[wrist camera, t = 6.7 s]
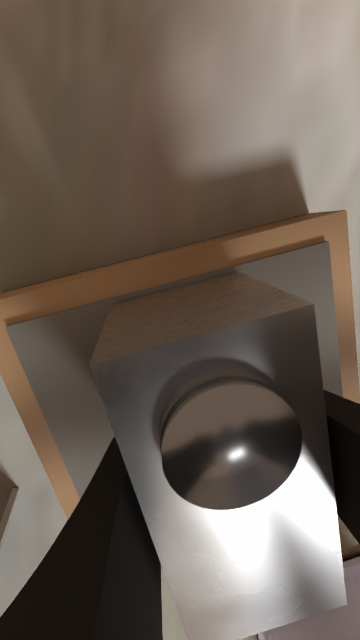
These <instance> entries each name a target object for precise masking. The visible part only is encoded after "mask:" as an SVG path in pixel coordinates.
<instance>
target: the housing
mask: <svg viewBox="0 0 360 640" xmlns="http://www.w3.org/2000/svg"><path fill="white" fill-rule="evenodd" d="M89 365H90V368H91V371H92V374H93V377H94V379H95V382H96V385H97V388H98V390H99V393H100V396H101V399H102V402H103V404H104V407H105V410H106V413H107V416H108V418H109V421H110V424H111V427H112V429H113V432H114V435H115V438H116V441H117V443H118V446H119V449H120V452H121V454H122V457H123V460H124V463H125V466H126V468H127V471H128V474H129V477H130V479H131V482H132V485H133V488H134V491H135V493H136V496H137V499H138V502H139V504H140V507H141V510H142V513H143V516H144V518H145V521H146V524H147V527H148V529H149V532H150V535H151V538H152V541H153V543H154V546H155V549H156V552H157V555H158V557H159V560H160V563H161V566H162V568H163V571H164V574H165V577H166V580H167V582H168V585H169V588H170V591H171V593H172V596H173V599H174V602H175V605H176V607H177V610H178V613H179V616H180V618H181V621H182V624H183V627H184V630H185V632H186V635H187V638H188V640H239V639H242V638H246V637H249V636H252V635H255V634H258V633H261V632H264V631H267V630H270V629H273V628H276V627H280V626H283V625H286V624H289V623H292V622H295V621H298V620H301V619H304V618H307V617H310V616H313V615H317V614H320V613H323V612H326V611H329V610H332V609H335V608H338V607H341V606H344V605H347V598H346V589H345V580H344V571H343V562H342V553H341V544H340V535H339V526H338V517H337V508H336V499H335V490H334V480H333V471H332V462H331V453H330V444H329V435H328V426H327V417H326V408H325V399H324V390H323V381H322V372H321V363H320V354H319V345H318V335H317V326H316V317H315V308H314V304H313V303H311V302H309V301H306V300H304V299H302V298H299V297H297V296H294V295H292V294H290V293H287V292H285V291H283V290H280V289H278V288H276V287H273V286H271V285H269V284H266V283H264V282H262V281H259V280H257V279H255V278H252V277H250V276H247V275H245V274H243V273H240V272H238V271H236V272H232V273H228V274H224V275H220V276H216V277H213V278H209V279H205V280H201V281H197V282H193V283H190V284H186V285H182V286H178V287H174V288H171V289H167V290H163V291H159V292H155V293H151V294H148V295H144V296H140V297H136V298H132V299H128V300H125V301H121V302H117V303H113V304H112V305H111V307H110V310H109V313H108V315H107V318H106V321H105V323H104V326H103V329H102V331H101V334H100V337H99V339H98V342H97V345H96V348H95V350H94V353H93V356H92V358H91V361H90V364H89Z"/></svg>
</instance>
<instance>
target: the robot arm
mask: <svg viewBox="0 0 360 640" xmlns="http://www.w3.org/2000/svg"><path fill="white" fill-rule="evenodd" d="M323 390H324V389H323ZM324 399H325V408H326V417H327V426H328V435H329V444H330V453H331V462H332V471H333V480H334V490H335V499H336V508H337V515H338V516H339V517H340V519H341V520H342V521H343V523H344V524H345V525H346V527H347V528H348V529H349V531H350V532H351V533H352V535H353V536H354V537H355V539H356V540H357V541H358V543H359V544H360V404H358V403H356V402H353V401H351V400H348V399H346V398H343V397H341V396H339V395H336V394H334V393H331V392H329V391H326V390H324ZM343 571H344V580H345V589H346V598H347V605H344V606H341V607H338V608H335V609H332V610H329V611H326V612H323V613H320V614H317V615H313V616H310V617H307V618H304V619H301V620H298V621H295V622H292V623H289V624H286V625H283V626H280V627H276V628H273V629H270V630H267V631H264V632H261V633H258V638H259V640H360V556H359V557H356V558H354V559H351V560H348V561H345V562H343ZM0 640H163V636H162V603H161V563H160V560H159V557H158V555H157V552H156V549H155V546H154V543H153V541H152V538H151V535H150V532H149V529H148V527H147V524H146V521H145V518H144V516H143V513H142V510H141V507H140V504H139V502H138V499H137V496H136V493H135V491H134V488H133V485H132V482H131V479H130V477H129V474H128V471H127V468H126V466H125V463H124V460H123V457H122V454H121V452H120V449H119V446H118V443H117V441H116V438H115V437H113V439H112V441H111V442H110V444H109V446H108V448H107V450H106V452H105V454H104V456H103V458H102V460H101V462H100V464H99V466H98V468H97V469H96V471H95V473H94V475H93V477H92V479H91V481H90V483H89V484H88V486H87V488H86V490H85V492H84V493H83V495H82V497H81V499H80V501H79V502H78V504H77V506H76V507H75V509H74V511H73V513H72V514H71V516H70V517H69V519H68V521H67V522H66V524H65V526H64V527H63V529H62V530H61V532H60V534H59V535H58V537H57V538H56V540H55V542H54V543H53V545H52V546H51V548H50V549H49V551H48V552H47V554H46V555H45V557H44V558H43V560H42V561H41V563H40V564H39V566H38V567H37V569H36V570H35V572H34V573H33V574H32V576H31V577H30V578H29V580H28V581H27V583H26V584H25V585H24V587H23V588H22V590H21V591H20V592H19V594H18V595H17V596H16V598H15V599H14V600H13V602H12V603H11V605H10V606H9V607H8V608H7V610H6V611H5V612H4V613H3V615H2V616H1V617H0Z"/></svg>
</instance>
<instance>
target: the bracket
mask: <svg viewBox="0 0 360 640" xmlns="http://www.w3.org/2000/svg"><path fill="white" fill-rule="evenodd" d="M18 489H19V488H12V491H11V494H10V497H9V499H8V502H7V505H6V508H5V511H4V513H3V516H2V519H1V522H0V554H1V551H2V547H3V543H4V540H5V536H6V532H7V529H8V525H9V521H10V518H11V514H12V511H13V507H14V503H15V500H16V496H17V492H18Z"/></svg>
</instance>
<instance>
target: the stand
mask: <svg viewBox="0 0 360 640" xmlns="http://www.w3.org/2000/svg"><path fill="white" fill-rule="evenodd" d="M236 271H238V272H240V273H243V274H245V275H247V276H250V277H252V278H255V279H257V280H259V281H262V282H264V283H266V284H269V285H271V286H273V287H276V288H278V289H280V290H283V291H285V292H287V293H290V294H292V295H294V296H297V297H299V298H302V299H304V300H306V301H309V302H311V303H313V304H314V308H315V317H316V326H317V335H318V345H319V354H320V363H321V372H322V381H323V389H324V390H326V391H329V392H331V393H334V394H336V395H339V396H341V397H343V398H346V399H348V400H351V401H353V402H356V403H358V404H360V395H359V381H358V367H357V353H356V339H355V325H354V310H353V296H352V282H351V268H350V254H349V240H348V226H347V212H346V210H340V211H330V212H319V213H309V214H305V215H302V216H298V217H294V218H290V219H286V220H282V221H278V222H274V223H270V224H267V225H263V226H259V227H255V228H251V229H247V230H243V231H239V232H236V233H232V234H228V235H224V236H220V237H216V238H212V239H208V240H204V241H201V242H197V243H193V244H189V245H185V246H181V247H177V248H173V249H170V250H166V251H162V252H158V253H154V254H150V255H146V256H142V257H138V258H135V259H131V260H127V261H123V262H119V263H115V264H111V265H107V266H104V267H100V268H96V269H92V270H88V271H84V272H80V273H76V274H72V275H69V276H65V277H61V278H57V279H53V280H49V281H45V282H41V283H37V284H34V285H30V286H26V287H22V288H18V289H14V290H10V291H6V292H3V293H0V374H1V376H2V378H3V380H4V382H5V385H6V387H7V389H8V391H9V393H10V395H11V397H12V400H13V402H14V404H15V406H16V408H17V410H18V413H19V415H20V417H21V419H22V421H23V423H24V426H25V428H26V430H27V432H28V434H29V436H30V438H31V441H32V443H33V445H34V447H35V449H36V451H37V454H38V456H39V458H40V460H41V462H42V464H43V467H44V469H45V471H46V473H47V475H48V477H49V479H50V482H51V484H52V486H53V488H54V490H55V492H56V495H57V497H58V499H59V501H60V503H61V505H62V507H63V510H64V512H65V514H66V516H67V518H68V519H69V517H70V516H71V514H72V513H73V511H74V509H75V507H76V506H77V504H78V502H79V501H80V499H81V497H82V495H83V493H84V492H85V490H86V488H87V486H88V484H89V483H90V481H91V479H92V477H93V475H94V473H95V471H96V469H97V468H98V466H99V464H100V462H101V460H102V458H103V456H104V454H105V452H106V450H107V448H108V446H109V444H110V442H111V441H112V439H113V437H115V435H114V432H113V429H112V427H111V424H110V421H109V418H108V416H107V413H106V410H105V407H104V404H103V402H102V399H101V396H100V393H99V390H98V388H97V385H96V382H95V379H94V377H93V374H92V371H91V368H90V365H89V364H90V361H91V358H92V356H93V353H94V350H95V348H96V345H97V342H98V339H99V337H100V334H101V331H102V329H103V326H104V323H105V321H106V318H107V315H108V313H109V310H110V307H111V305H112V304H113V303H117V302H121V301H125V300H128V299H132V298H136V297H140V296H144V295H148V294H151V293H155V292H159V291H163V290H167V289H171V288H174V287H178V286H182V285H186V284H190V283H193V282H197V281H201V280H205V279H209V278H213V277H216V276H220V275H224V274H228V273H232V272H236Z"/></svg>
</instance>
